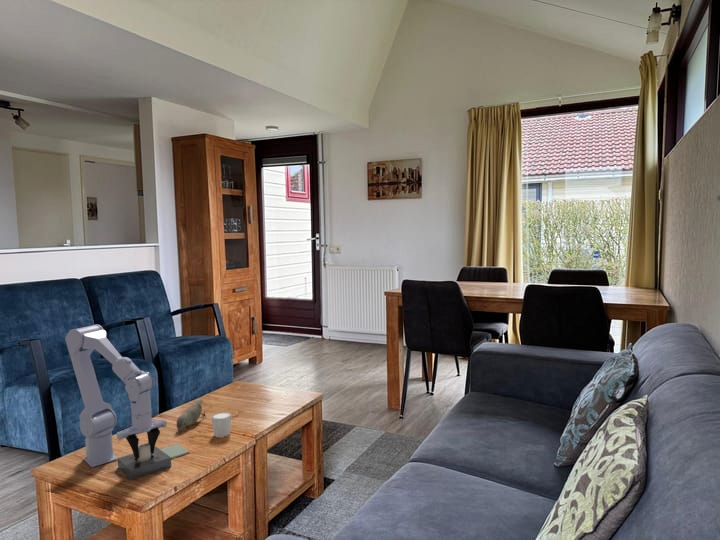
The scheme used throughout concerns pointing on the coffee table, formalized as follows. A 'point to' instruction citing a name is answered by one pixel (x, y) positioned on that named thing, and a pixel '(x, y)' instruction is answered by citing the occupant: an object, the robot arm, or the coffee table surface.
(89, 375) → the robot arm
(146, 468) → the housing
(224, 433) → the white tapered cylinder
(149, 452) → the plug
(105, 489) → the coffee table surface
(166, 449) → the mat
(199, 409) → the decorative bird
